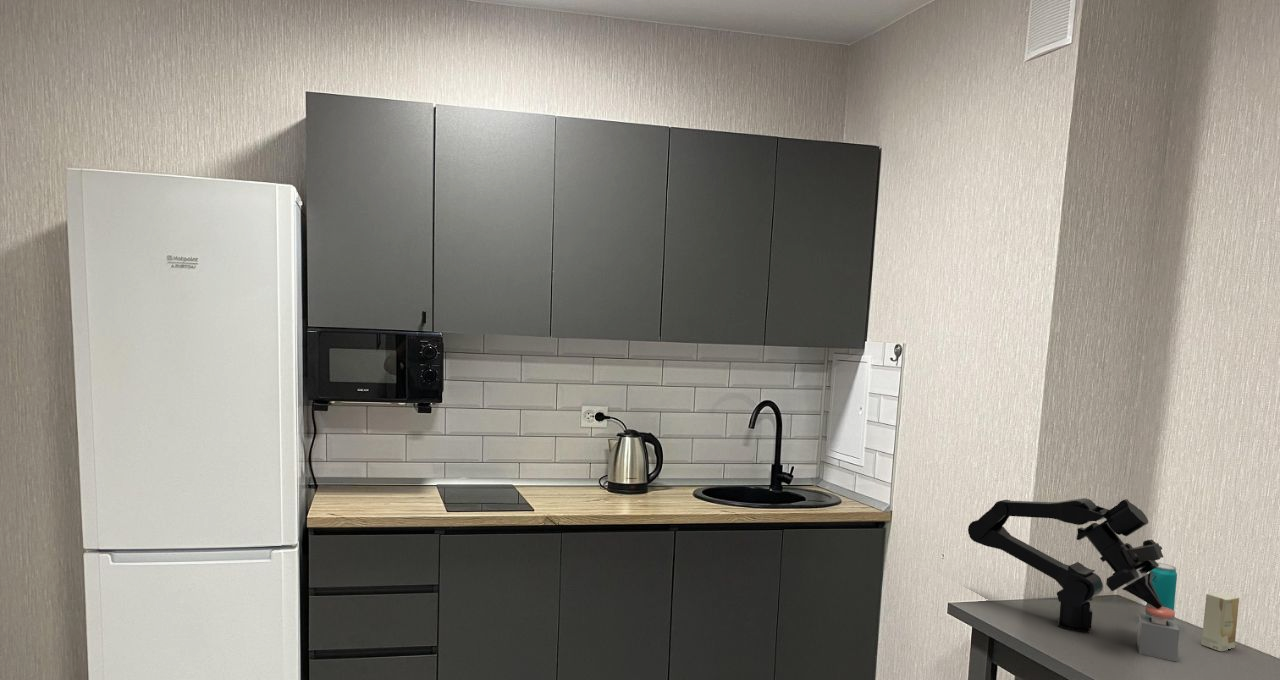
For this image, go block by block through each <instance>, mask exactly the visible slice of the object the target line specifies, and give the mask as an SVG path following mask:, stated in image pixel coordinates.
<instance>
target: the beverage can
mask: <svg viewBox="0 0 1280 680" xmlns="http://www.w3.org/2000/svg"><path fill="white" fill-rule="evenodd" d="M1157 563H1158V565H1159V566H1158V567H1156V568H1155V569H1153V570H1151V571H1149V572H1148V574H1149V573H1151V572H1152V571H1153V575H1152V584H1153V587H1154V589H1155V591H1156V593H1157V595H1158V597H1159V600H1160V602H1161V604H1162V606H1163V607H1167V608H1169V609H1172V610H1173V611H1175V604H1176V603H1175V602H1176V593H1177V592H1176V589H1177V583H1178V582H1177V581H1178V580H1177V579H1178V573H1177V567H1176V566H1174V565H1173V564H1172V565H1171V564H1168V563H1162V562H1157ZM1146 605H1149V604H1148V603H1147V602H1146ZM1145 615H1149V616H1152V615H1150V614H1147V613H1146V612H1145ZM1169 620H1174V618H1173V619H1169Z"/></svg>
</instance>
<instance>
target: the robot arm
mask: <svg viewBox="0 0 1280 680" xmlns="http://www.w3.org/2000/svg"><path fill="white" fill-rule="evenodd" d="M1010 517H1019V518H1020V517H1021V518H1035V519H1036V518H1038V519H1040V518H1043V519H1054V520H1057V521H1060V522H1063V523H1067V524H1071V525H1072V524H1073V525H1077V526H1082V525H1085V524H1088V523H1091V522H1092V523H1091V524H1089V525H1087V526H1086V527H1078V528H1077V535H1076V540H1077V541H1080V540H1083V539H1085V538H1087V539H1088V541H1089V542H1090V543H1091V545H1092V546H1093V548H1094V549H1095V550H1096V551H1097V552H1098V553H1099V554H1100V555H1101V557H1100V558H1099V559H1100V561H1102V563H1104V562H1106V563H1107V565H1108V566H1109V567H1110V568H1111V570H1113V572H1114V573H1112V575H1110V576H1109V577H1107V578H1106V581H1105V582H1106V584H1105V585H1106V587H1108V589H1109V590H1110V591H1111V592H1114V591H1116V590H1118V589H1119V588H1120V587H1122V588H1121V589H1122V591H1125V592H1128V593H1130V594H1131V595H1132V596H1133V595H1134V597H1137V598H1139V600H1141V601H1143V602H1146V604H1147V603H1148V604H1150V605H1152V606H1153V607H1155V608H1157V609H1159V608H1161V607H1162V604H1161V602H1160V600H1159V597H1158V595H1157V593H1156V591H1155V589H1154V587H1153V584H1152V575H1153V571H1152V572H1151V573H1149V571H1151V570H1153V569H1155V568H1156V567H1158V566H1159V565H1158V563H1159V562H1157V561H1159V560H1160V559H1161V558H1162V559H1163V558H1164V555H1163V553H1162V550H1163V547H1162V546H1161V545H1160V544H1159V542H1155V541H1154V540H1153V539H1145V540H1144V541H1143V542H1142V545H1139V546H1136V547H1135V546H1134V547H1133V546H1132V545H1131V544H1130V543H1129V542H1126V543H1124V542H1123V541H1122V539H1121V538H1120V536H1121V535H1122V536H1125V537H1128V536H1130V535H1132V534H1133V533H1135V532H1136V531H1138V530H1140V529H1141V528H1143V527H1145V526H1146V525H1148V524H1149V520H1148V517H1147V516H1146V514H1145V513H1144V511H1142V509H1140V508H1138V506H1137V505H1135V504H1133V503H1132V502H1130V500H1128V499H1127V498H1126V499H1123V500H1121V501H1119V502H1118V503H1117V505H1115V506H1114V507H1112V508H1110V509H1108V508H1105V507H1102V506H1099V505H1096V503H1094V502H1093V501H1092V499H1089V498H1076V499H1075V498H1074V499H1069V500H1063V501H1061V500H1060V501H1055V502H1054V501H1029V500H1028V501H1026V500H1025V501H1022V500H1010V499H1003V500H999V501H996V502H995V503H994V505H992V507H991V508H990V509H988V510H987V511H986V512H985V513H984V514H983V515H982V516H980V517H979V518H978V519H977V520H973V521H971V522H970V523H969V525H968V528H967V532H968V536H969V538H970V539H971V541H973V542H975V543H978V544H980V545H983V546H984V547H985V546H986V547H988V548H993V549H998V550H1001V551H1003V552H1005V553H1006V554H1008V555H1010V556H1012V557H1014V558H1015V559H1018V560H1019V561H1021V562H1023V563H1025V564H1026V565H1028V566H1029V567H1032V568H1034V569H1036V570H1037V571H1038V572H1040V573H1043V574H1044V575H1046V576H1048V577H1049V578H1051V579H1053V580H1055V581H1056V582H1057V584H1058V585H1059V586H1060V588H1062V589H1060V590H1059V591H1057V592H1056V596H1057V598H1058V599H1057V601H1059V612H1058V613H1059V614H1058V618H1057V619H1058V620H1057V627H1059V628H1062V629H1063V628H1064V629H1067V630H1072V631H1077V632H1082V633H1085V634H1086V633H1087V634H1089V633H1090V629H1092V624H1093V623H1092V622H1093V609H1092V608H1091V602H1092V600H1093V599H1094V598H1095V597H1096V596H1098V595H1100V594H1101V592H1102V591H1103V588H1104V586H1103V584H1104V583H1103V582H1102V578H1101V577H1100V576H1099V575H1098V574H1097V573H1095V569H1090V568H1088V567H1086V566H1085V565H1083V564H1082V563H1080V562H1078V561H1077V562H1074V563H1071V564H1070V565H1069V564H1066V563H1063V562H1062V561H1059V560H1057V559H1055V558H1054V557H1052V556H1050V555H1048V554H1046V553H1044V552H1043V551H1041V550H1038V549H1037V548H1035V547H1034V546H1032V545H1030V544H1028V543H1026V542H1024V541H1022V540H1020V539H1018V538H1016V537H1015V536H1013V535H1012V534H1010V532H1009V531H1008V530H1007V529H1006V528H1005V527H1004V525H1005V524H1006V522H1007V521H1008V520H1009V518H1010ZM1104 519H1105V520H1104ZM1100 520H1104V521H1103V522H1101V523H1096V522H1098V521H1100ZM1118 535H1119V536H1118ZM1124 585H1126V586H1124ZM1123 586H1124V587H1123Z"/></svg>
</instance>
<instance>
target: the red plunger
mask: <svg viewBox="0 0 1280 680" xmlns="http://www.w3.org/2000/svg"><path fill="white" fill-rule="evenodd" d="M1144 612H1145V614H1146V613H1147V614H1150V615H1152V621H1151V622H1152V623H1157V624H1162V625H1166V621H1167V619H1173V620H1174V619H1175V614H1176V611H1175V610H1174V611H1173V610H1172V609H1169V608H1167V607H1163V606H1162V607H1161V608H1159V609H1157V608H1155V607H1153V606H1152V605H1150V604H1149V605H1147V604H1145V606H1144Z"/></svg>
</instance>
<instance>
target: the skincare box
mask: <svg viewBox="0 0 1280 680" xmlns="http://www.w3.org/2000/svg"><path fill="white" fill-rule="evenodd" d="M1204 603H1205V606H1204V613H1203V614H1204V615H1203V624H1202V632H1201V633H1202V635H1201V641H1200V642H1201V645H1202V646H1205V647H1207V648H1210V649H1212V650H1215V651H1218V652H1226V651H1229V650H1228V649H1231V648H1233V647H1234V648H1235V645H1236V635H1237V634H1236V633H1237V626H1238V613H1239V604H1240V597H1238V596H1234V595H1232V594H1229V593H1225V592H1222V591H1218V592H1210V593H1206V594H1205V602H1204ZM1231 650H1232V649H1231Z"/></svg>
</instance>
